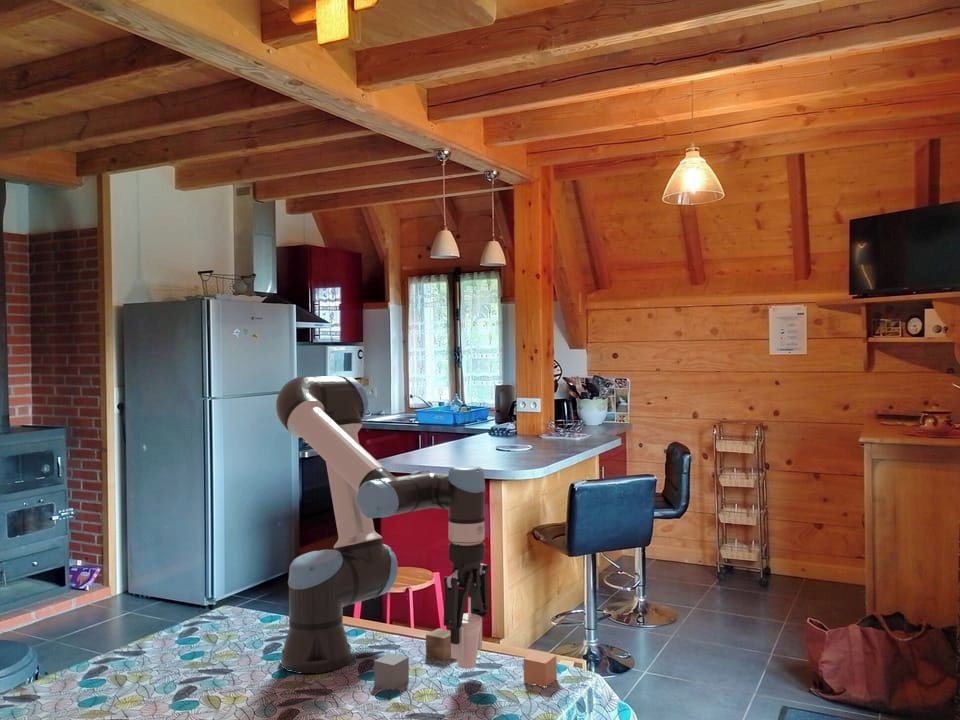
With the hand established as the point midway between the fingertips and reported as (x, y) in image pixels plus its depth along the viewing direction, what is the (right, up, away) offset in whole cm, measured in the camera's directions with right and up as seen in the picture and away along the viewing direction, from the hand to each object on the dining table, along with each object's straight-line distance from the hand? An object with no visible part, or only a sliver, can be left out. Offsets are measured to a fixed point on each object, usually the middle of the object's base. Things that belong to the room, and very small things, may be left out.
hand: (466, 653), depth 155 cm
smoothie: (0, -3, 0) cm, 3 cm away
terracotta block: (+15, -5, -1) cm, 16 cm away
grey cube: (-15, -6, -1) cm, 17 cm away
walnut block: (-6, -6, +14) cm, 16 cm away
